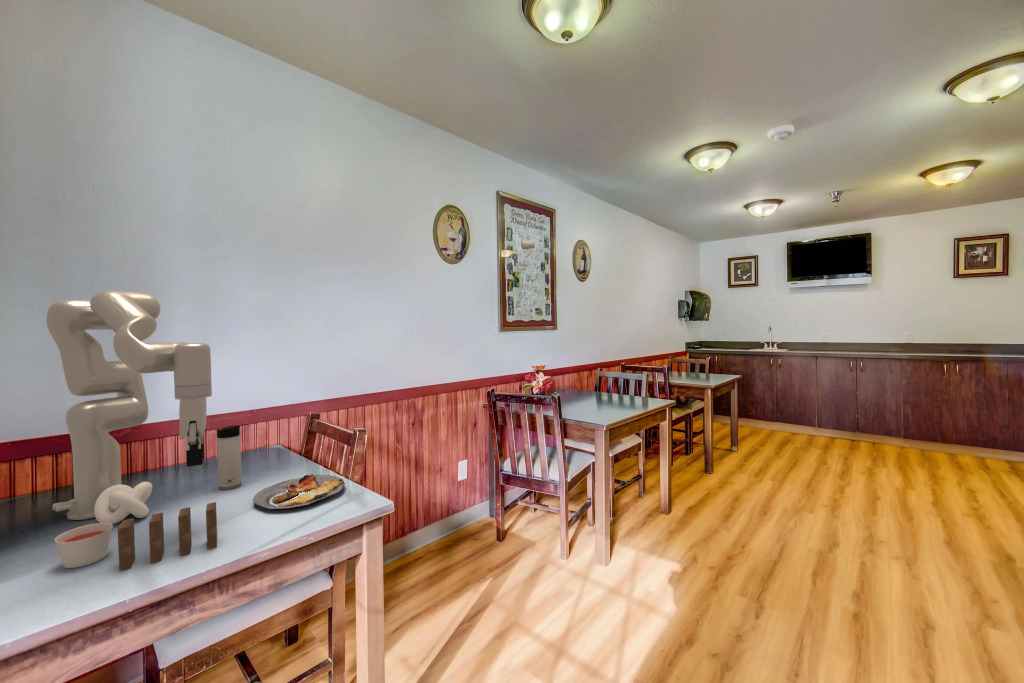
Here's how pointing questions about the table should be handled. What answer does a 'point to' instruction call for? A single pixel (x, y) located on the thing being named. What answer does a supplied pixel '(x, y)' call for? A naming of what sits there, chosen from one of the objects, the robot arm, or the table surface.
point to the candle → (84, 544)
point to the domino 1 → (126, 544)
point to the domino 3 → (184, 531)
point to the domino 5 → (211, 525)
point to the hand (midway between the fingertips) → (195, 461)
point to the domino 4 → (197, 467)
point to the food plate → (299, 491)
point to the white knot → (122, 502)
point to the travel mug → (229, 457)
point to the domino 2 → (156, 537)
